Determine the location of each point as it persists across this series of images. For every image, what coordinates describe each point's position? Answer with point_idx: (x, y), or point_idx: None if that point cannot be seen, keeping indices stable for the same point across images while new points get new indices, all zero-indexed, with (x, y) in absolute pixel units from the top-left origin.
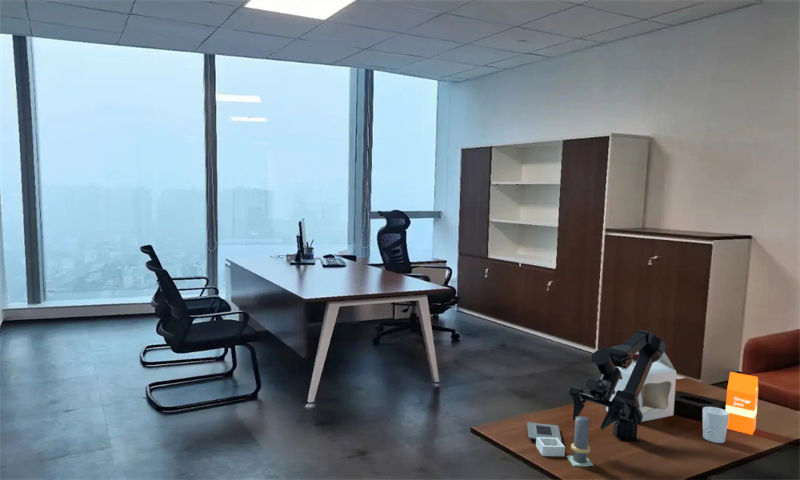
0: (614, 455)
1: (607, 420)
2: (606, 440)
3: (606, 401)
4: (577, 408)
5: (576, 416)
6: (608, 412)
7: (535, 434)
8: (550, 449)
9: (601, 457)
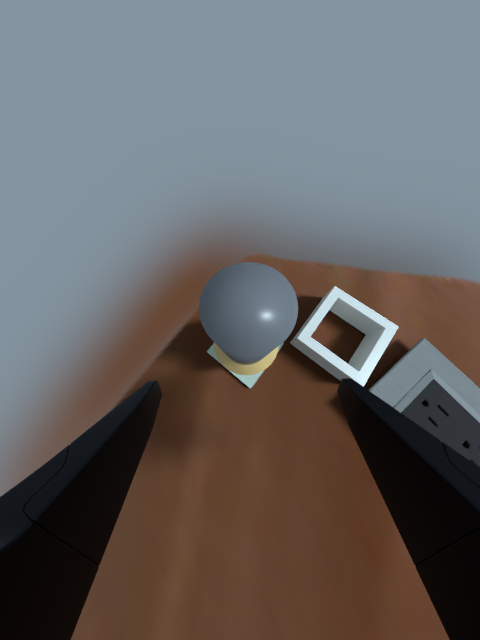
0: (199, 492)
1: (83, 439)
2: (288, 633)
3: None
4: (414, 462)
5: (297, 303)
6: (4, 535)
7: (432, 372)
8: (318, 306)
9: (220, 434)
